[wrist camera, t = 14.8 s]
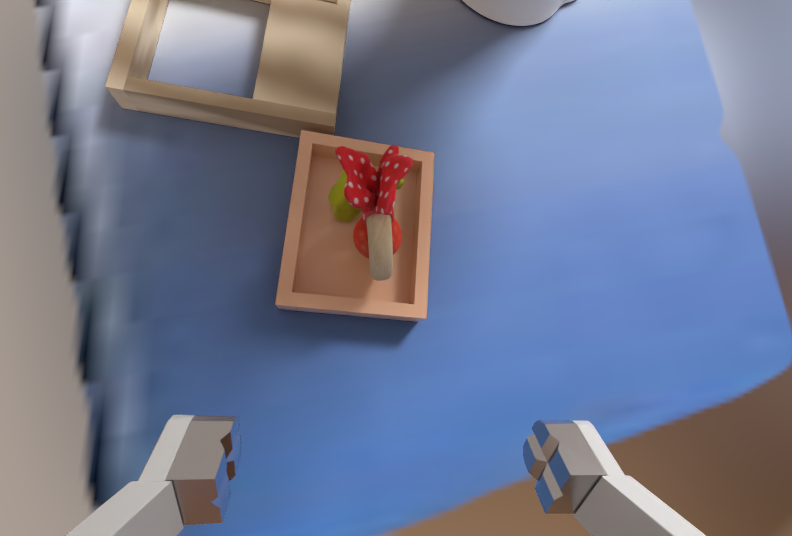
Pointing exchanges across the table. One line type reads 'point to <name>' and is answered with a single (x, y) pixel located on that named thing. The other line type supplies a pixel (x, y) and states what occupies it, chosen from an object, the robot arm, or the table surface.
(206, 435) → the robot arm
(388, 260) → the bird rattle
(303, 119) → the puzzle board
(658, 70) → the table surface
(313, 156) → the terracotta tray
